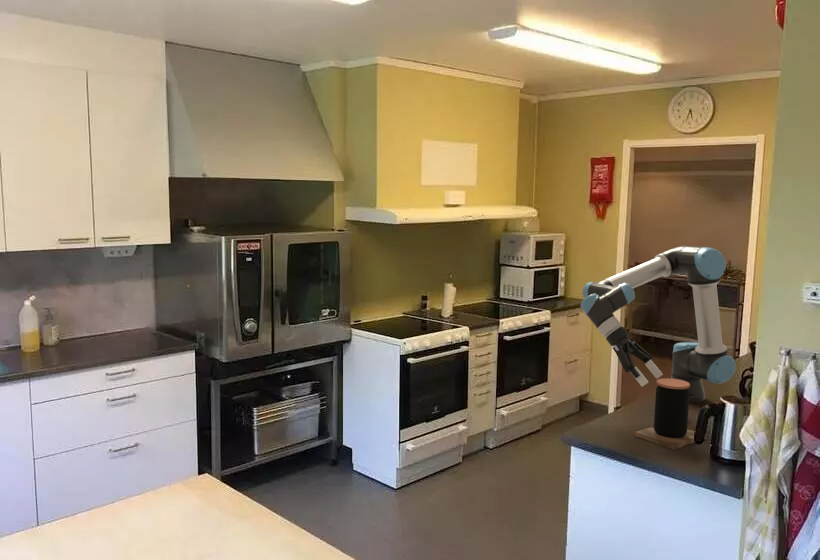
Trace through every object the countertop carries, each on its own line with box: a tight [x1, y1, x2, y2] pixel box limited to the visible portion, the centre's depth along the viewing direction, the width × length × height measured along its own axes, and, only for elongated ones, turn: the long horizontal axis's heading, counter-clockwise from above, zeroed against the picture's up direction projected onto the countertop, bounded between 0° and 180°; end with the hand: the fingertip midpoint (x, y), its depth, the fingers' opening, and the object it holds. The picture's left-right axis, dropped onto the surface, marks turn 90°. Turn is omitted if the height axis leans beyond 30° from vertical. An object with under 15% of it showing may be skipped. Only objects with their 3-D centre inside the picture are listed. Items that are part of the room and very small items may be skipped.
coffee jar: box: [653, 377, 690, 438], centre depth 230 cm, size 11×11×18 cm
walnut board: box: [634, 426, 695, 450], centre depth 231 cm, size 18×15×2 cm
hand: (652, 380), depth 233 cm, fingers open, 13 cm apart
